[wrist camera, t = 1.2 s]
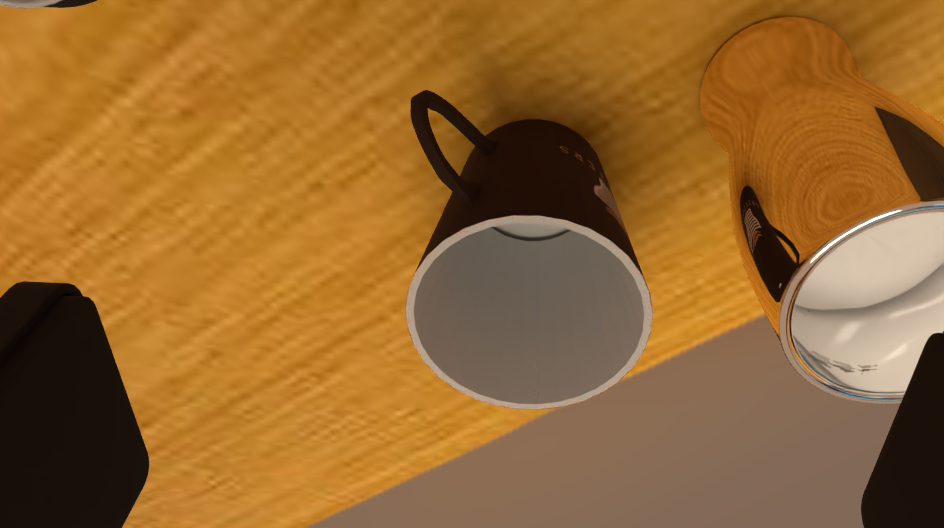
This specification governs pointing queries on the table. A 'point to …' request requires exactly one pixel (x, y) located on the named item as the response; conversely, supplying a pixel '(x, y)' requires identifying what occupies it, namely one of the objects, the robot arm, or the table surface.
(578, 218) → the coffee mug
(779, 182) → the beer glass
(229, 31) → the table surface
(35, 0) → the beverage can
